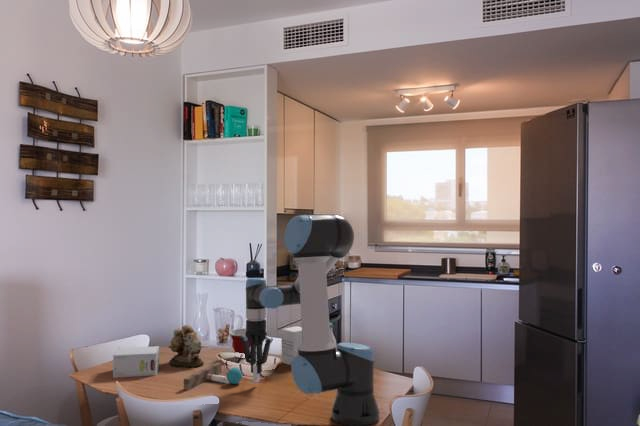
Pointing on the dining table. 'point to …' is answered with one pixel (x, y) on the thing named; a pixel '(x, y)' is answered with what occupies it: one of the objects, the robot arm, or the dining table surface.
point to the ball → (234, 375)
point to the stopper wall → (201, 376)
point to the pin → (216, 378)
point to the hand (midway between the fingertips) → (256, 381)
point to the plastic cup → (238, 339)
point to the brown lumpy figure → (186, 348)
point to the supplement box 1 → (136, 361)
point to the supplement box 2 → (290, 343)
